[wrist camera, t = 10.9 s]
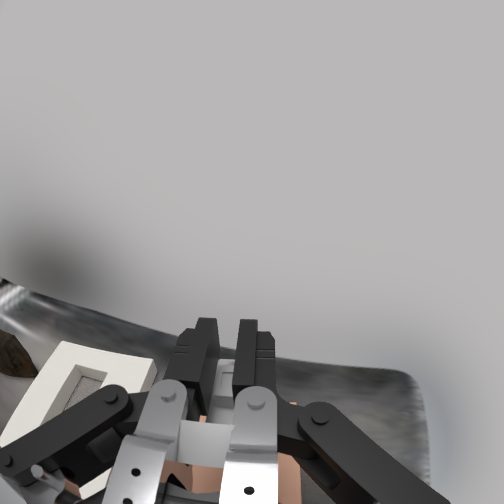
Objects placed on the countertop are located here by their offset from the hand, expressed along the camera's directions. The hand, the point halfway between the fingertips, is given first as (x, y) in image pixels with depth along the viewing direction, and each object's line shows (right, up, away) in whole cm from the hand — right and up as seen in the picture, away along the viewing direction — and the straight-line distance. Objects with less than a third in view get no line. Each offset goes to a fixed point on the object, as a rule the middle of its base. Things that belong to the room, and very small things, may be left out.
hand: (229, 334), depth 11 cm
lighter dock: (-12, -9, +3) cm, 15 cm away
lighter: (0, -7, 0) cm, 7 cm away
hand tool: (-28, -8, +6) cm, 30 cm away
